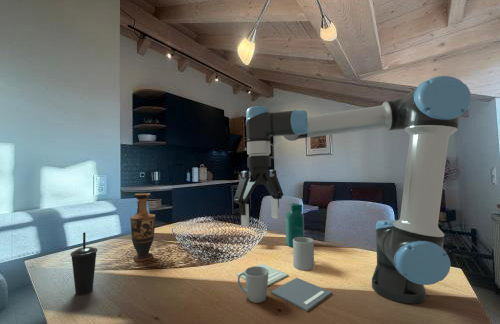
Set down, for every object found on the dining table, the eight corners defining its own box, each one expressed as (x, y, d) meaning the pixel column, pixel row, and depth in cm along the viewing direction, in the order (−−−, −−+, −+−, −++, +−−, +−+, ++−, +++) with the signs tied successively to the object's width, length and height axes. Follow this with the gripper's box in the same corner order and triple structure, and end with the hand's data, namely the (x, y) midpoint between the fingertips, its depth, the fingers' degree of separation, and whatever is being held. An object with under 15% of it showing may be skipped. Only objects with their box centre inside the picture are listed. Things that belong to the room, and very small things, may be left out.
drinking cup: (81, 285, 86) (81, 229, 86) (102, 285, 85) (102, 229, 86) (64, 297, 78) (64, 235, 78) (87, 297, 78) (87, 235, 78)
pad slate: (331, 293, 78) (331, 291, 78) (306, 311, 68) (306, 309, 68) (296, 279, 88) (296, 277, 88) (270, 293, 79) (270, 290, 79)
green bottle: (285, 242, 131) (284, 202, 132) (300, 241, 132) (299, 201, 132) (290, 248, 121) (289, 205, 122) (306, 247, 122) (305, 204, 123)
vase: (158, 259, 110) (157, 193, 110) (132, 265, 104) (132, 195, 104) (152, 252, 119) (152, 192, 119) (128, 257, 112) (128, 193, 113)
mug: (314, 271, 94) (313, 243, 95) (292, 269, 97) (291, 242, 97) (314, 260, 106) (313, 235, 106) (294, 258, 108) (294, 234, 108)
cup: (267, 306, 71) (266, 277, 71) (234, 302, 73) (234, 274, 74) (270, 293, 79) (270, 267, 79) (241, 290, 81) (240, 264, 81)
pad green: (288, 275, 91) (288, 273, 91) (262, 288, 82) (262, 286, 82) (262, 265, 101) (262, 263, 101) (236, 275, 92) (236, 273, 92)
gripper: (275, 156, 88) (277, 214, 88) (220, 155, 71) (222, 227, 71) (292, 155, 83) (294, 216, 82) (236, 154, 66) (238, 231, 65)
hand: (261, 221), depth 76 cm, fingers open, 13 cm apart
